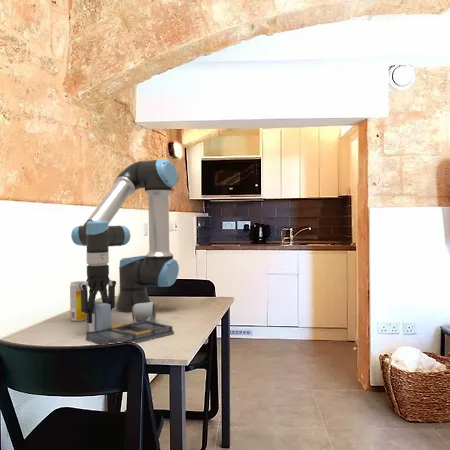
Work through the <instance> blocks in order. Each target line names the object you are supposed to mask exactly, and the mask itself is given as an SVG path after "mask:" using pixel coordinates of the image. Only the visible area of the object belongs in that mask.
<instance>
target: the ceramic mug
mask: <svg viewBox="0 0 450 450" xmlns="http://www.w3.org/2000/svg"><path fill="white" fill-rule="evenodd" d="M156 310H157V307H156V303H155V302H154V301H150V302H148V303H138V304H134V305H133V308H132V312H131V318H132V320H133V323H137V322H142V321H151V322H155V323H156V319H157V311H156Z"/></svg>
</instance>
